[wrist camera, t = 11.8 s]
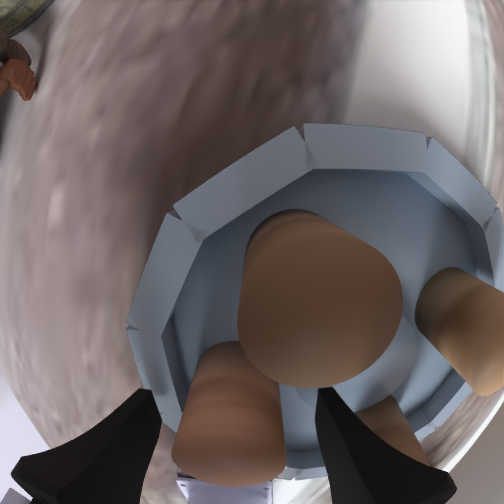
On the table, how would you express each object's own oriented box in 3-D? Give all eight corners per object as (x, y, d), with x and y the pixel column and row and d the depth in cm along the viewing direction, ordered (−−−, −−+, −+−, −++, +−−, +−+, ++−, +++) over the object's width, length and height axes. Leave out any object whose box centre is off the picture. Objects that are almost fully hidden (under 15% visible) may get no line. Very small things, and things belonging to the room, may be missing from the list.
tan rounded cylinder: (388, 428, 14) (414, 488, 9) (332, 440, 14) (348, 508, 9) (403, 387, 13) (442, 451, 8) (340, 399, 13) (366, 477, 8)
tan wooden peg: (336, 302, 12) (383, 380, 7) (245, 302, 12) (237, 389, 7) (344, 210, 11) (415, 238, 6) (245, 207, 11) (236, 233, 6)
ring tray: (439, 420, 16) (451, 439, 13) (189, 453, 16) (183, 478, 14) (494, 156, 11) (523, 157, 8) (126, 151, 11) (99, 146, 9)
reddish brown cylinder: (282, 396, 13) (291, 482, 8) (209, 404, 13) (193, 486, 8) (270, 334, 12) (278, 426, 7) (186, 346, 13) (154, 432, 7)
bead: (461, 329, 12) (516, 379, 7) (408, 342, 12) (461, 408, 7) (475, 263, 11) (545, 301, 6) (420, 269, 11) (495, 319, 6)
